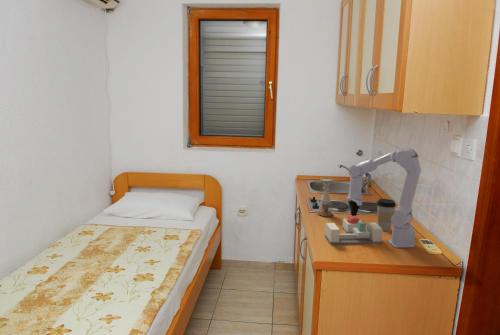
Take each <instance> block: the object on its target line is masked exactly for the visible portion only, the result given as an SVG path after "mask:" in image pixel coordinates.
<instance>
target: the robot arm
mask: <svg viewBox="0 0 500 335" xmlns="http://www.w3.org/2000/svg"><path fill="white" fill-rule="evenodd" d="M389 162H393V163H397V164H398V165H399V166H400V167H402V168H403V169H404V171H405V172H406V177H405V180H404V184H403V187H402V190H401V191H402V192H401V196H400V199H399V202H398V206H396V208H395V209H394V215H393V216H392V217H391V222H392V223H391V225H392V232H391V239H387V242H388V243H389V244H390V245H391V246H392V247H394V248H395V249H396V248H415V247H416V246H415V241H416V240H415V239H416V229H415V226H413V225H411V224H410V223H411V222H412V221H413V218H414V217H413V216H414V215H413V211H414V210H413V208H412V205H413V202H414V198H415V195H416V191H417V186H418V184H419V179H420V176H421V172H422V168H421V164H420V161H419V154H418V153H417V151H416V150H415V149H413V148H409V147H408V148H406V149H405V148H404V149H402V150H401V149H400V150H397V151H392V152H389V153H387V154H385V155H383V156H380V157H377V158H376V159H374V158H365V160H364V161H362V162H361V161H360V162H357V164H353V165H351V166H350V167H349V168H348V175H349V176H350V178H349V192H348V193H347V197H346V200H347V203H348V205H349V210H350V214H351V215H350V216H357V214H358V211H359V210H360V207H361V206H362V205H363V201H362V190H363V189H362V187H363V178H364V177H363V176H364V175H366V174H369V173H372V172H373V171H376V170H377V169H378V166H381V165H384V164H387V163H389Z"/></svg>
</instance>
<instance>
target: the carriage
mask: <svg viewBox="0 0 500 335" xmlns="http://www.w3.org/2000/svg"><path fill="white" fill-rule="evenodd" d="M366 228H367V222H366V221H365V220H360V221H358V225H357V228H353V230H352V231H353V233H355V234H356V238H369V236H370V232H369V231H368V230H367V229H366Z"/></svg>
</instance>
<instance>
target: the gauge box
mask: <svg viewBox="0 0 500 335" xmlns="http://www.w3.org/2000/svg"><path fill="white" fill-rule="evenodd" d="M347 221H348V218H342V228H341V229H343V231H344V232H345V234H353V231H352V230H353V228H357V225H358V224H349V223H348V222H347ZM359 221H361V220H360V219H359Z"/></svg>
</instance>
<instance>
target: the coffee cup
mask: <svg viewBox="0 0 500 335" xmlns="http://www.w3.org/2000/svg"><path fill="white" fill-rule="evenodd" d="M375 205H376V206H377V209H376V211H377V214H376V216H377V225H378V226H380V227H381V228H382V232H389V231H390V230H391V228H392V222H391V217H392V216H393V215H394V213H395V209H396V208H397V204H396V202H395V200H393V199H389V198H379V199H377V201H376V204H375ZM395 207H396V208H395Z"/></svg>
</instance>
